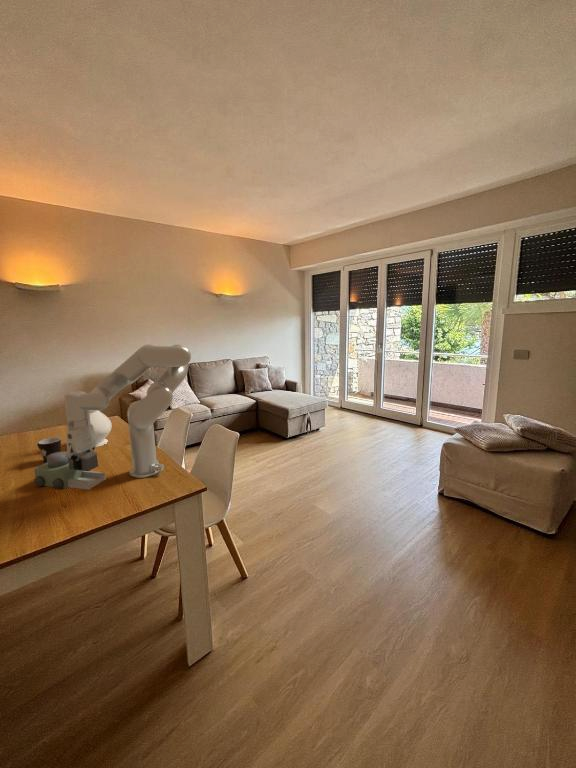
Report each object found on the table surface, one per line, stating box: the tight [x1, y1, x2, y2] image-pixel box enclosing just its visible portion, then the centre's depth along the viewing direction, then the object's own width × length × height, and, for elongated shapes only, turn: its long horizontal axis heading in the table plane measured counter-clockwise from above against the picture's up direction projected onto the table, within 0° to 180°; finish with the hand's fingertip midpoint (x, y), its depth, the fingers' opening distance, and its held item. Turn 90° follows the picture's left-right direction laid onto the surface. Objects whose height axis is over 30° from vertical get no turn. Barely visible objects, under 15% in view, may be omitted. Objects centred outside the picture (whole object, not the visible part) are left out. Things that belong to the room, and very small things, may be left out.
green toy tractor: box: [33, 451, 107, 491], centre depth 134 cm, size 24×13×11 cm, turn 78°
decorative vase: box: [89, 410, 113, 448], centre depth 174 cm, size 18×18×25 cm
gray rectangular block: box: [68, 451, 99, 471], centre depth 132 cm, size 9×5×6 cm, turn 78°
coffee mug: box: [37, 436, 62, 464], centre depth 155 cm, size 12×9×10 cm
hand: (83, 465), depth 132 cm, fingers closed on gray rectangular block, 5 cm apart
